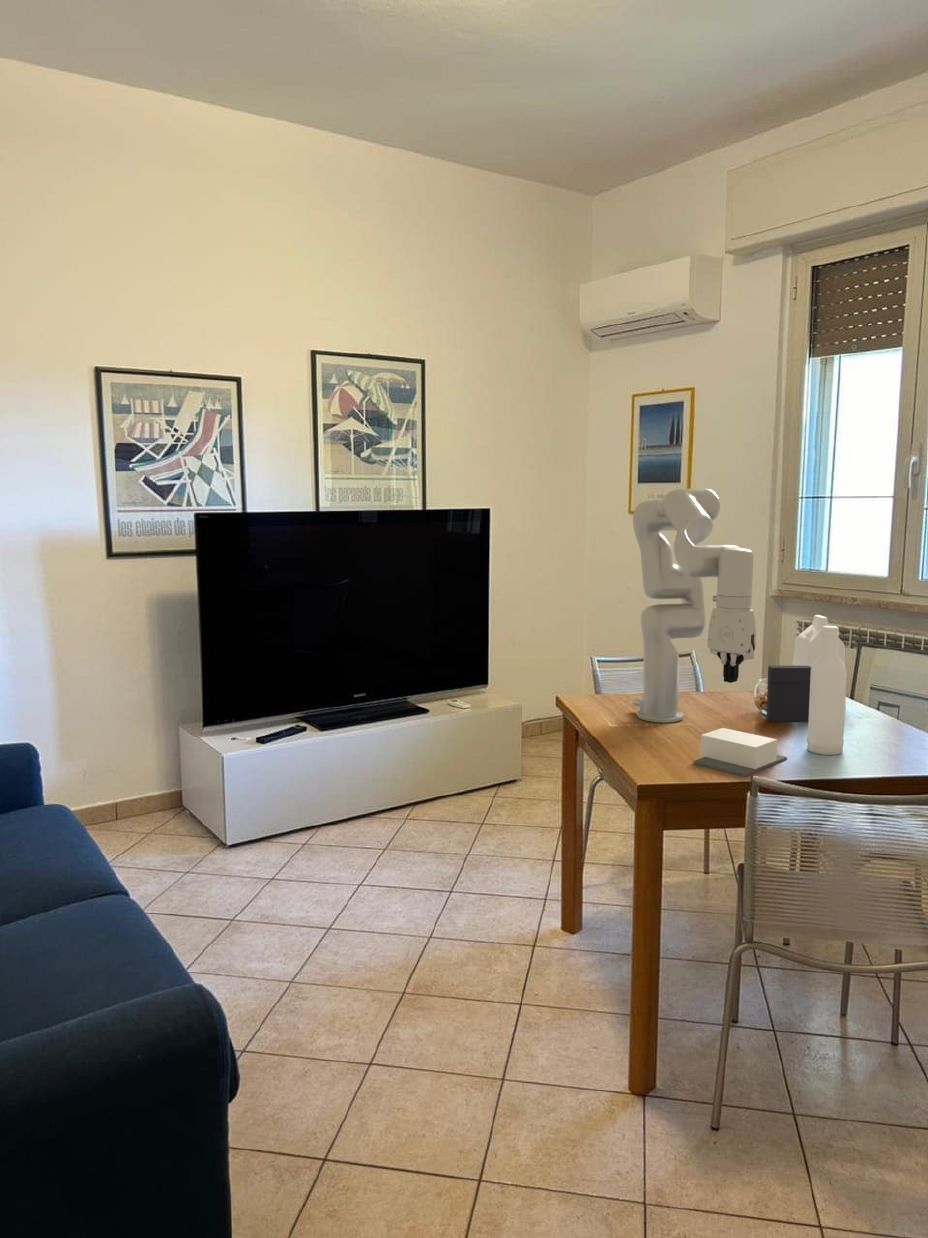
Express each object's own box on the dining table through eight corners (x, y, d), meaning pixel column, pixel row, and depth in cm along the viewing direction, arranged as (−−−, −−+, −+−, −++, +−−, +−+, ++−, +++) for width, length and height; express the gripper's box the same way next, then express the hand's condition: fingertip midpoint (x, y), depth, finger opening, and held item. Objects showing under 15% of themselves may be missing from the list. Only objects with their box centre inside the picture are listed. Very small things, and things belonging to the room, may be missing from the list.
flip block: (701, 734, 199) (756, 747, 188) (722, 727, 204) (777, 739, 194) (700, 755, 199) (755, 769, 189) (722, 748, 205) (776, 761, 195)
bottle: (799, 748, 206) (804, 625, 202) (823, 744, 209) (829, 623, 205) (825, 757, 199) (831, 630, 195) (850, 752, 202) (856, 627, 198)
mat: (693, 763, 196) (693, 761, 196) (736, 747, 207) (736, 745, 207) (744, 776, 186) (744, 774, 186) (786, 759, 198) (786, 757, 198)
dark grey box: (806, 718, 234) (809, 665, 232) (811, 722, 229) (813, 668, 227) (765, 718, 235) (767, 664, 233) (769, 722, 230) (771, 667, 228)
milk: (845, 709, 244) (849, 619, 240) (805, 709, 244) (808, 619, 240) (828, 699, 255) (832, 613, 252) (789, 700, 256) (792, 613, 252)
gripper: (696, 601, 197) (693, 678, 200) (755, 608, 186) (751, 690, 189) (714, 597, 202) (711, 673, 205) (772, 604, 191) (768, 684, 194)
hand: (730, 681), depth 197 cm, fingers closed
